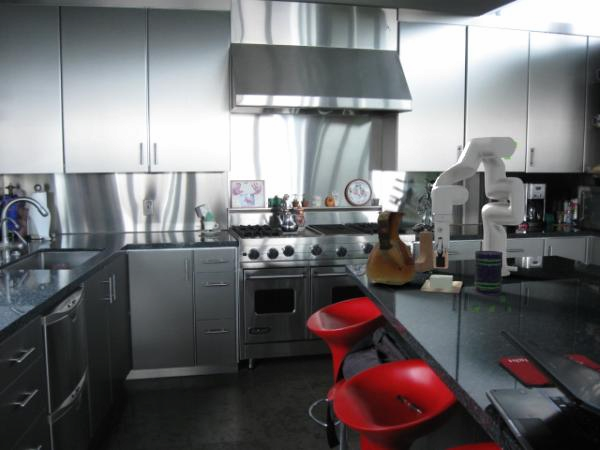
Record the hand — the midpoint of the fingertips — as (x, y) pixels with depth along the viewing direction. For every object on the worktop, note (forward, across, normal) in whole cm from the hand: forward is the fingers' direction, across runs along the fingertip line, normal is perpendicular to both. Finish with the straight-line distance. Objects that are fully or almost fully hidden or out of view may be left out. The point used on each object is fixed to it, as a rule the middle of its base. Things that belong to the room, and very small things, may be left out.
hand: (441, 265), depth 207 cm
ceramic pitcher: (+10, +5, +20) cm, 23 cm away
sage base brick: (+8, 0, 0) cm, 8 cm away
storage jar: (+9, 0, -17) cm, 20 cm away
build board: (+9, +4, 0) cm, 10 cm away
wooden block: (+9, +40, +12) cm, 43 cm away
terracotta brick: (+1, 0, 0) cm, 1 cm away
